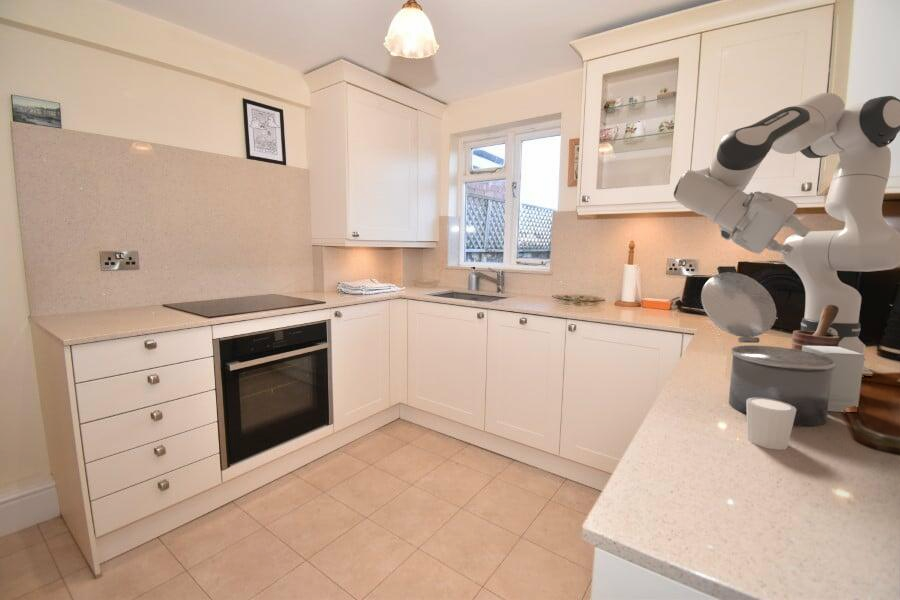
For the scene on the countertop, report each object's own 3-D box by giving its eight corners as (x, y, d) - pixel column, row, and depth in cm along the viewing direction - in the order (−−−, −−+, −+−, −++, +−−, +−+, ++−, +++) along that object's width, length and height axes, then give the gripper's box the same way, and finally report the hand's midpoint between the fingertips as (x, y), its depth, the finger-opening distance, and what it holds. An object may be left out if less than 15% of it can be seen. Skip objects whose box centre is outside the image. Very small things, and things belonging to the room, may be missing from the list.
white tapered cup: (779, 455, 66) (784, 414, 65) (734, 438, 72) (738, 400, 72) (800, 445, 69) (804, 407, 69) (755, 430, 76) (758, 394, 75)
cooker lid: (715, 341, 91) (710, 344, 93) (788, 341, 91) (782, 344, 93) (693, 266, 99) (689, 270, 101) (760, 266, 99) (755, 270, 101)
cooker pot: (710, 395, 93) (714, 345, 92) (781, 395, 93) (786, 345, 92) (766, 427, 77) (772, 366, 75) (852, 427, 77) (860, 366, 75)
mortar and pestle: (790, 374, 110) (798, 301, 107) (833, 381, 104) (843, 304, 101) (785, 384, 101) (794, 306, 99) (832, 392, 95) (843, 309, 93)
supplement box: (858, 413, 83) (866, 354, 82) (817, 411, 85) (824, 352, 83) (832, 400, 90) (839, 345, 89) (795, 398, 92) (801, 344, 90)
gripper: (761, 178, 88) (830, 209, 82) (736, 223, 106) (791, 251, 100) (741, 199, 88) (808, 232, 82) (720, 240, 106) (773, 270, 100)
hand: (798, 243), depth 91 cm, fingers open, 8 cm apart
